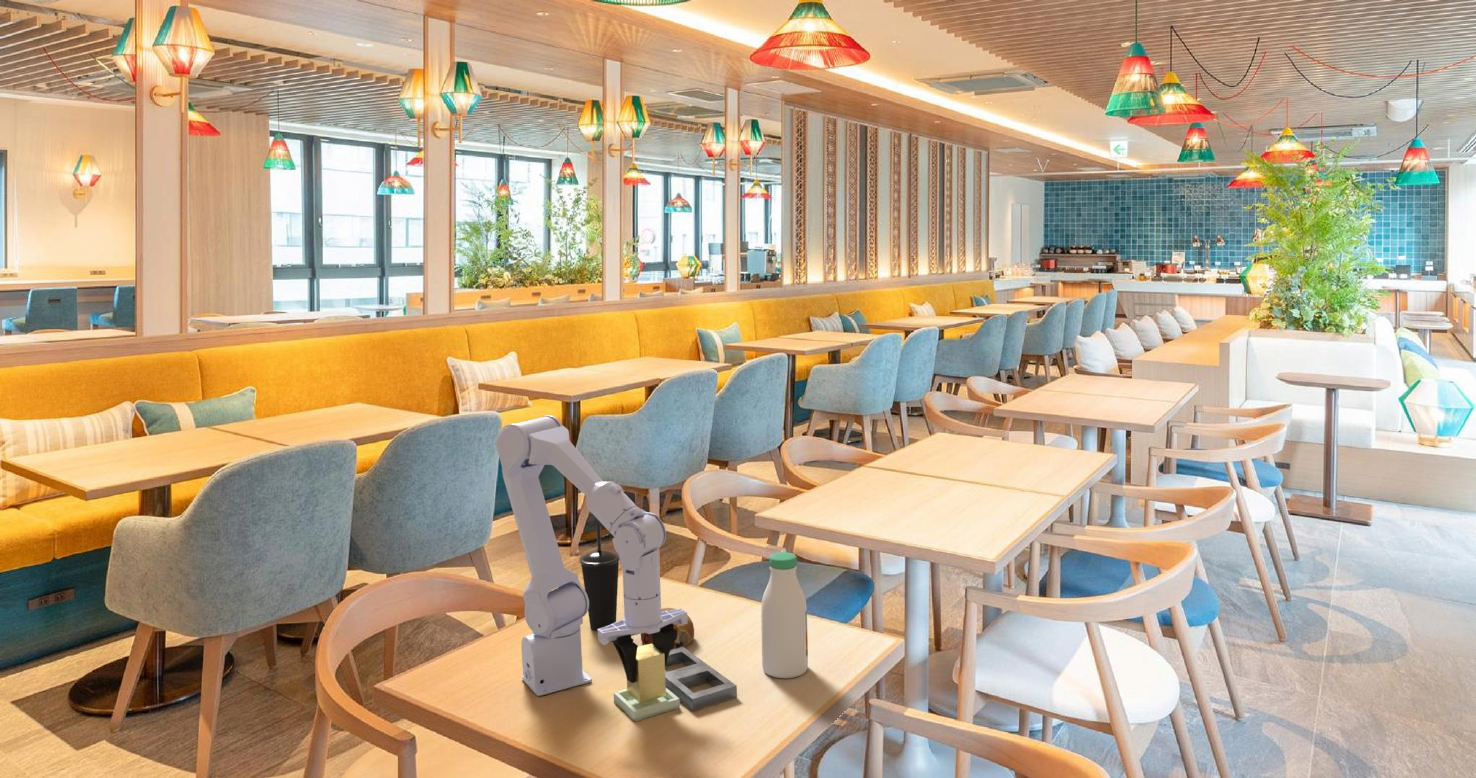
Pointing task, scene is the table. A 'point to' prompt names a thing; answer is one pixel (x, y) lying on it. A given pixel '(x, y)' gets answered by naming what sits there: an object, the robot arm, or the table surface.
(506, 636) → the table surface
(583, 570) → the drinking cup
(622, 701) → the tray
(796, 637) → the milk bottle
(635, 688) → the wood grain cuboid
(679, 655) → the grey flat frame
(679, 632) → the bread roll
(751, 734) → the table surface
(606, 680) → the table surface
